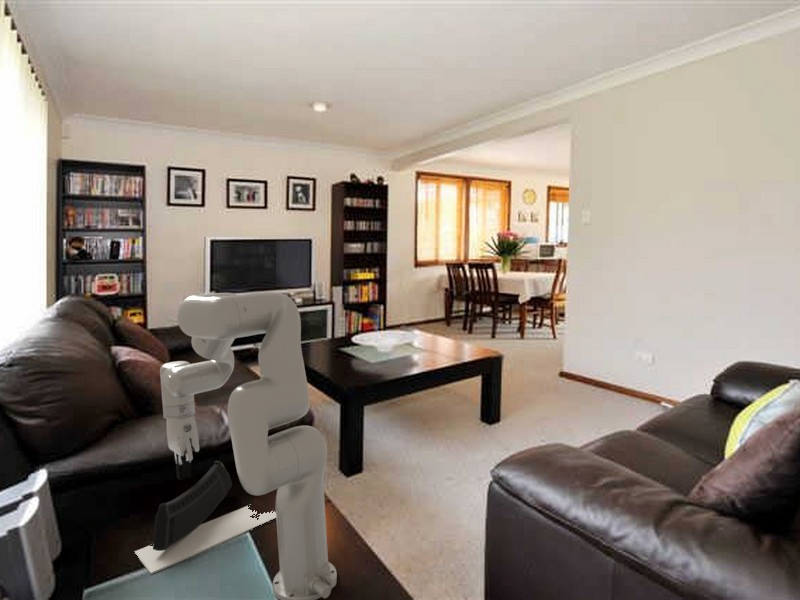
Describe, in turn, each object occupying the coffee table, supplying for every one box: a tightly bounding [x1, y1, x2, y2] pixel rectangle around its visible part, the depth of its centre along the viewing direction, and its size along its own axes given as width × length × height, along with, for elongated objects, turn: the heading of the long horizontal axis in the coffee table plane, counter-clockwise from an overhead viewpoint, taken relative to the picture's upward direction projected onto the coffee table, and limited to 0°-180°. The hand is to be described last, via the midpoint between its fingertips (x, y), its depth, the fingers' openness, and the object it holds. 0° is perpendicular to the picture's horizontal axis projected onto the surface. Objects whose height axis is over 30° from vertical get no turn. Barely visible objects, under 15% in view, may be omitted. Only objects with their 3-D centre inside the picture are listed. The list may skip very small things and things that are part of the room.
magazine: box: [152, 460, 233, 551], centre depth 122 cm, size 17×3×30 cm
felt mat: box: [134, 505, 276, 575], centre depth 118 cm, size 12×31×1 cm, turn 134°
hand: (184, 477), depth 128 cm, fingers closed
